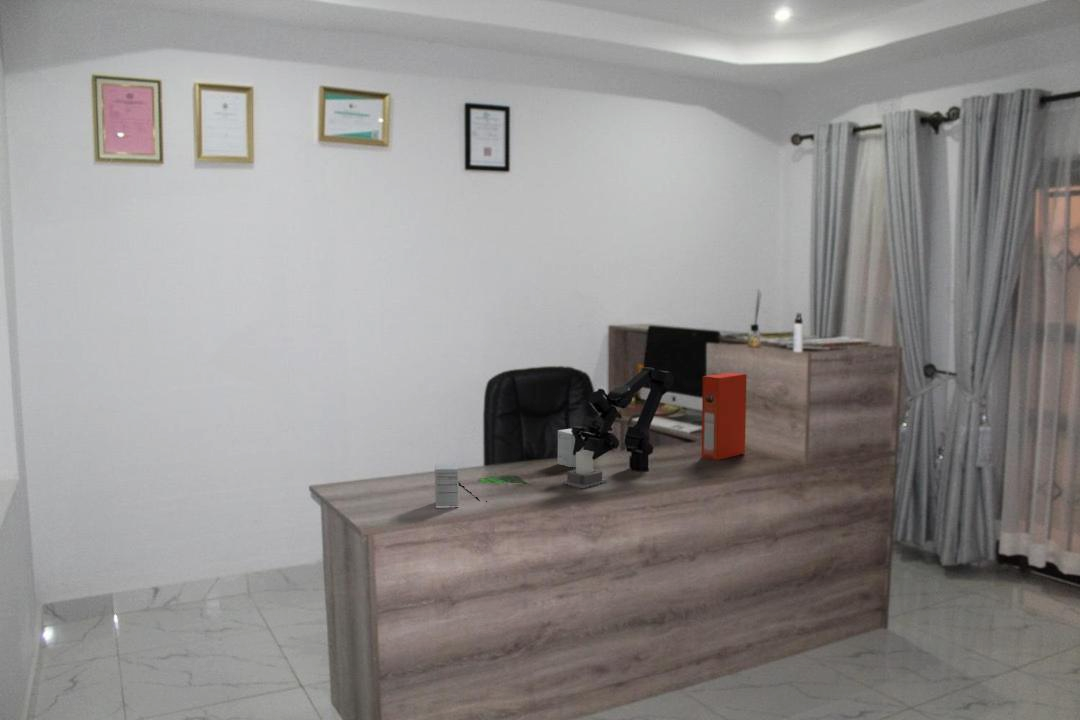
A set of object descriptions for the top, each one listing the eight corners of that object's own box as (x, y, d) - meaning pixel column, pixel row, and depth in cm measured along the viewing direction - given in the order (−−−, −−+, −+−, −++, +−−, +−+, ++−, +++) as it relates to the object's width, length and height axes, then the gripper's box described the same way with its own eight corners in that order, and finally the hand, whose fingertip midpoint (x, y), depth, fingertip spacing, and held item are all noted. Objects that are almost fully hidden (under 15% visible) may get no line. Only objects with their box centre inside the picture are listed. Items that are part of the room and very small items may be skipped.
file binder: (700, 457, 337) (702, 376, 334) (728, 450, 348) (730, 372, 345) (717, 460, 331) (719, 378, 327) (744, 454, 342) (747, 374, 339)
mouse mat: (545, 496, 283) (545, 493, 283) (481, 504, 275) (481, 500, 275) (515, 477, 308) (515, 474, 308) (456, 483, 300) (456, 480, 300)
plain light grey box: (586, 478, 301) (586, 450, 300) (593, 479, 299) (593, 451, 298) (575, 480, 298) (576, 452, 297) (583, 482, 295) (583, 453, 294)
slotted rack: (587, 477, 306) (587, 466, 305) (606, 482, 299) (606, 471, 299) (563, 483, 298) (563, 472, 297) (582, 488, 291) (582, 477, 291)
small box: (584, 465, 324) (584, 431, 322) (571, 468, 320) (571, 433, 318) (569, 461, 330) (569, 428, 328) (557, 464, 326) (557, 430, 324)
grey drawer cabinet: (435, 502, 275) (435, 463, 274) (459, 501, 276) (458, 463, 275) (434, 508, 268) (434, 469, 267) (458, 508, 269) (458, 468, 267)
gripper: (574, 403, 305) (552, 438, 299) (614, 410, 292) (591, 447, 286) (590, 422, 311) (568, 457, 305) (629, 430, 298) (607, 466, 292)
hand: (583, 456), depth 297 cm, fingers open, 9 cm apart
